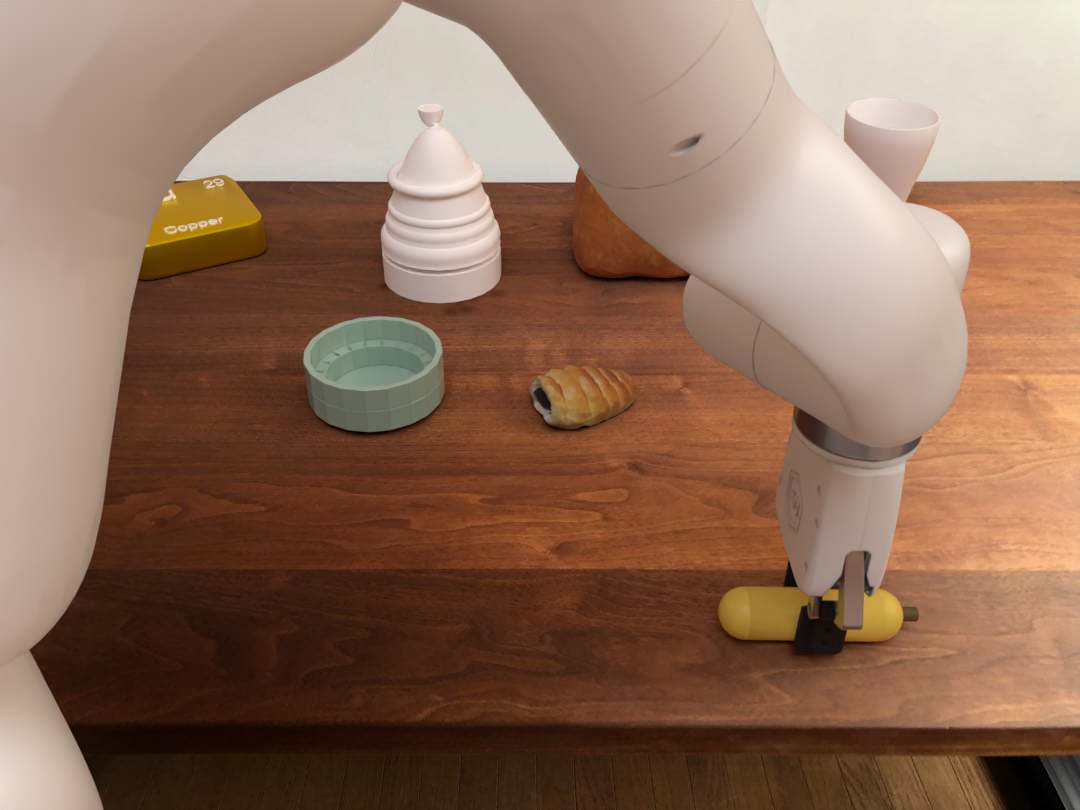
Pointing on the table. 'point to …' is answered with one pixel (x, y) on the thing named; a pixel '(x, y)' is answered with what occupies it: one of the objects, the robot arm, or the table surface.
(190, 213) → the element tile
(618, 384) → the pastry
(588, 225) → the bread
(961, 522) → the table surface
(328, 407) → the bowl
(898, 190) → the cup
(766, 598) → the yellow gas cartridge
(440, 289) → the honey pot
